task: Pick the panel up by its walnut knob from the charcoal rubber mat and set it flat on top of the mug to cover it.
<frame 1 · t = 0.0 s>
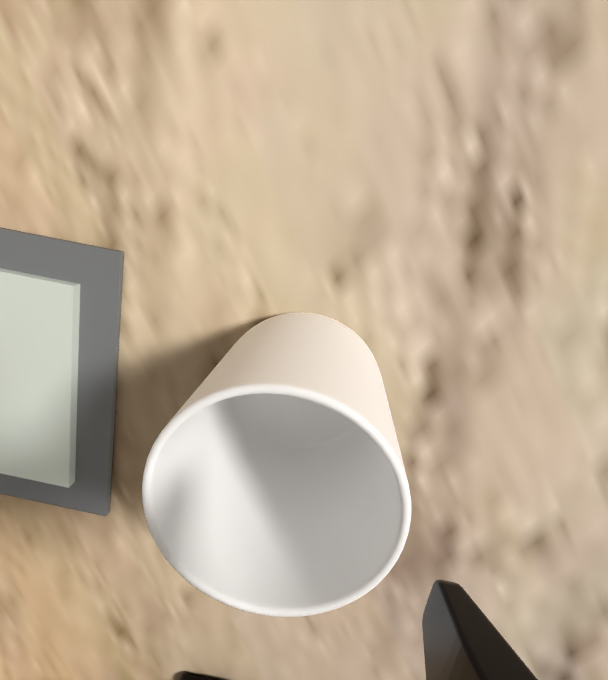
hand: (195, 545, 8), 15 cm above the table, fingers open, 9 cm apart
mug: (294, 412, 23), on the table
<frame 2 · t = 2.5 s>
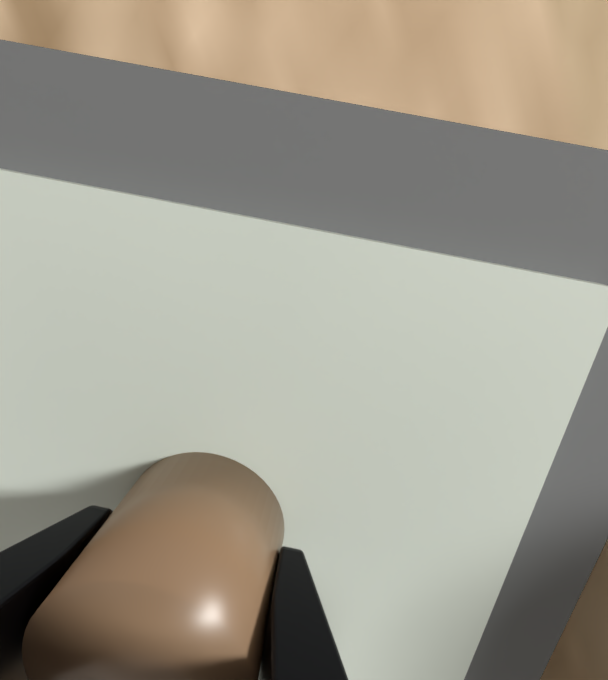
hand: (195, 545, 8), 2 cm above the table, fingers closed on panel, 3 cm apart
mat: (219, 491, 10), on the table
panel: (214, 503, 9), resting on mat, touching gripper
when the fingers open (12 cm above the table, at t = 5.7 s): panel stays where it is, resting on mug.
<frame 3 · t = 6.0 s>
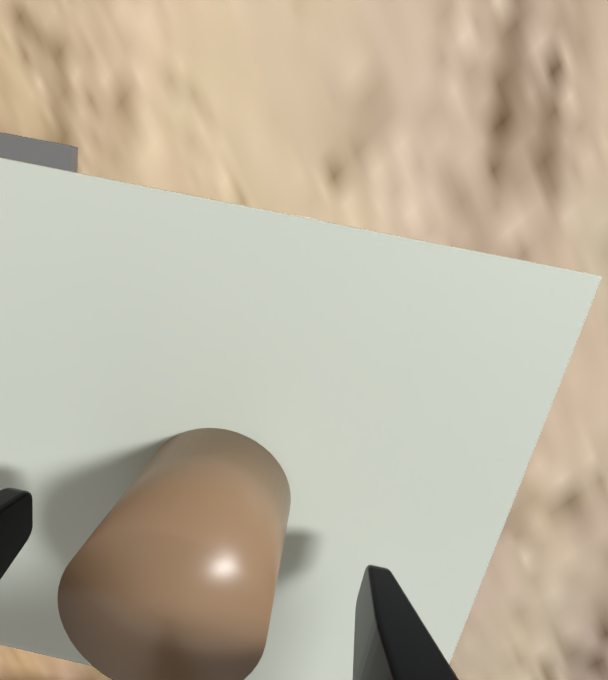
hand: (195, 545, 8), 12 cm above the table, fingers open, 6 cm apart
panel: (224, 478, 10), point 10 cm above the table, touching mug
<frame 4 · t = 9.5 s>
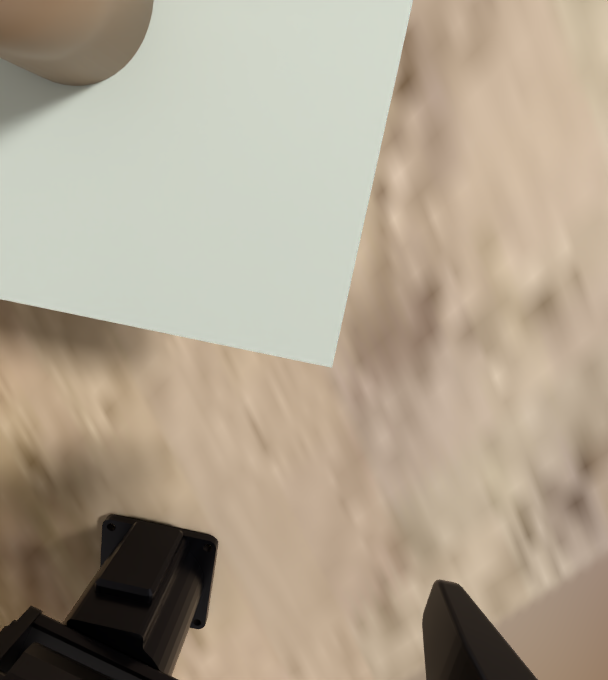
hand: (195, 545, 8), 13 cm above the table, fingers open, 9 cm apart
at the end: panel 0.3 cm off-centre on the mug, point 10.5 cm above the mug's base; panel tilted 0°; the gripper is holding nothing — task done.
